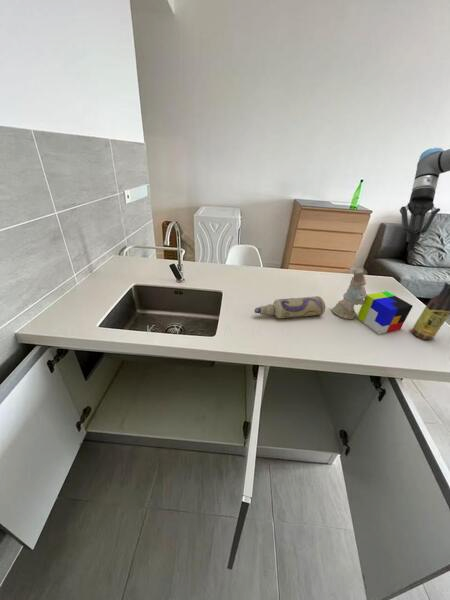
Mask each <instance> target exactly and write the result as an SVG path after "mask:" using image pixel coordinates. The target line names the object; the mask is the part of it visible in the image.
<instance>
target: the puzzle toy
mask: <svg viewBox="0 0 450 600" xmlns="http://www.w3.org/2000/svg"><path fill="white" fill-rule="evenodd" d="M366 294H367V293H366ZM363 301H364V304H362V305H360V308H359V311H358V313H357V315H356V318H357V319H358V320H359V321H360V322H361V323H363V324H364V325H366V326H367V327H368V328H370V329H371V330H373V331H374V332H375V333H377V334H378V335H382V334H387V333H390V332H394V331H400V330H401V329H402V327H403V326H404V323H405V322H406V320H407V318H408V316H409V314H410V312H411V311H412V309H413V307H414V306H413V305H412V304H411V303H408V302H407V301H405V300H403V299H402V298H400V297H399V296H396V295H394V294H393V293H391V292H389V291H381V292H375V293H369V294H367V298H364V299H363Z"/></svg>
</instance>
